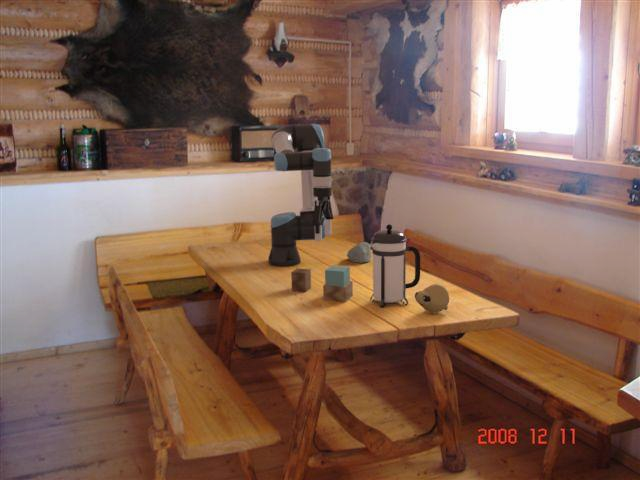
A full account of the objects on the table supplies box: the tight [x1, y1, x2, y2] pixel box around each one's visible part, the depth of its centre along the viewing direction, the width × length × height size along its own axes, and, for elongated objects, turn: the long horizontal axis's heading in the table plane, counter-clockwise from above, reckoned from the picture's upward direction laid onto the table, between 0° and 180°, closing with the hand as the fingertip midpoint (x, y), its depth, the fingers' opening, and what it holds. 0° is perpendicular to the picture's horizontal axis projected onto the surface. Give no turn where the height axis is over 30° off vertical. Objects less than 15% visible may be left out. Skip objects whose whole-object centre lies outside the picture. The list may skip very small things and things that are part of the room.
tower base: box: [322, 280, 354, 303], centre depth 267 cm, size 9×9×6 cm
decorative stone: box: [346, 241, 372, 264], centre depth 324 cm, size 13×11×10 cm
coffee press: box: [369, 223, 421, 309], centre depth 258 cm, size 17×16×30 cm
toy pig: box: [414, 283, 450, 316], centre depth 246 cm, size 10×12×11 cm
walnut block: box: [290, 268, 312, 293], centre depth 279 cm, size 6×6×8 cm
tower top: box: [324, 265, 351, 287], centre depth 265 cm, size 8×8×6 cm
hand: (323, 238), depth 284 cm, fingers open, 13 cm apart
